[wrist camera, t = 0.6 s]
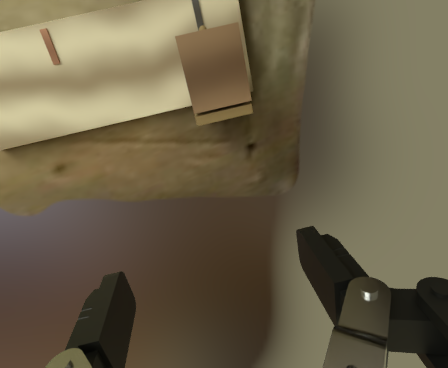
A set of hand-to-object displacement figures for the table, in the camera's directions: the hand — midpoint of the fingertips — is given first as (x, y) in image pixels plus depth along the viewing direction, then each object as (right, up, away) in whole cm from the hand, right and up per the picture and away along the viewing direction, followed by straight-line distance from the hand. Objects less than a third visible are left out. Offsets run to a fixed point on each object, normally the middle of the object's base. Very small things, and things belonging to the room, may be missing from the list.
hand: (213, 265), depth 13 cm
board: (-11, +15, +17) cm, 26 cm away
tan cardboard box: (-1, +15, +17) cm, 23 cm away
